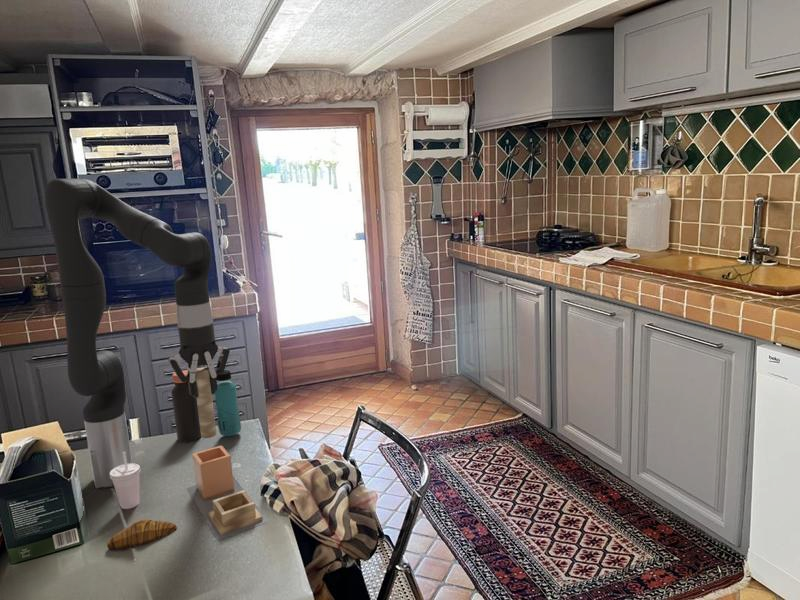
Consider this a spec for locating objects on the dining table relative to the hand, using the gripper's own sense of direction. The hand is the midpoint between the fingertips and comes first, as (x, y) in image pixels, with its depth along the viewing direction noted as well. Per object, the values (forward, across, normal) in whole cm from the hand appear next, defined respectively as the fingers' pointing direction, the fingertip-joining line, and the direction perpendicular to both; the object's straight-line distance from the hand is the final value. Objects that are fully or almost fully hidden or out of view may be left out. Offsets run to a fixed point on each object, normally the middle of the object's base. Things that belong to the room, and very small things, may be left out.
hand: (203, 394), depth 133 cm
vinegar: (+25, -3, -37) cm, 45 cm away
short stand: (+24, 0, +15) cm, 28 cm away
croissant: (+26, +18, +10) cm, 33 cm away
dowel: (+10, 0, 0) cm, 10 cm away
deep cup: (+24, 0, 0) cm, 24 cm away
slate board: (+25, 0, +8) cm, 26 cm away
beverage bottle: (+25, -13, -30) cm, 41 cm away
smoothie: (+25, +18, -6) cm, 32 cm away
